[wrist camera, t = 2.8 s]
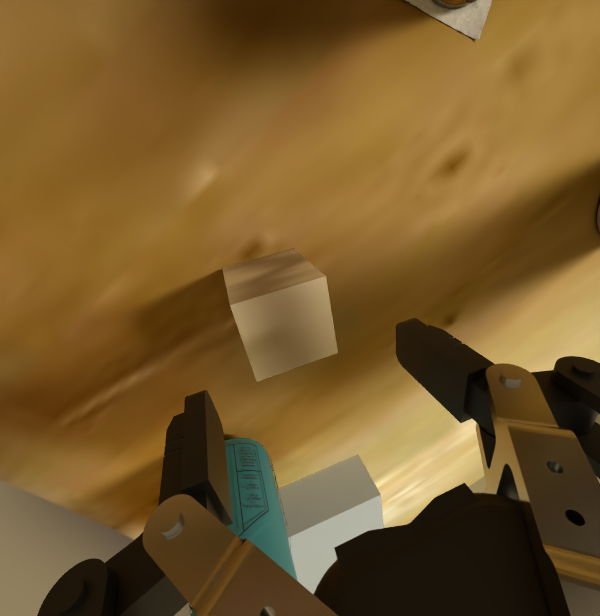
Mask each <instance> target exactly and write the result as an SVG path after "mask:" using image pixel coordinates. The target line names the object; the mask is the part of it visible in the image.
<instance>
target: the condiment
mask: <svg viewBox="0 0 600 616" xmlns="http://www.w3.org/2000/svg"><path fill="white" fill-rule="evenodd" d="M406 1H408V2H410V4H412V5H414V6H416V7H418V8H419V9H421V10H422V11H424V12H425V13H427V14H429V15H430V16H432V17H434V18H436V19H438V20H440V21H442V22H444V23H445V24H447V25H449V26H451V27H452V28H454V29H456V30H459V31H461V32H462V33H464V34H466V35H467V36H470V37H472V38H474V39H478V40H479V39H480V35H481V32H482V30H483V26H484V24H485V21H486V18H487V14H488V11H489V8H490V6H491V2H492V0H406Z"/></svg>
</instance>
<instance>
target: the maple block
mask: <svg viewBox="0 0 600 616" xmlns="http://www.w3.org/2000/svg"><path fill="white" fill-rule="evenodd" d="M222 270H223V275H224V279H225V284H226V289H227V294H228V298H229V303H230V307H231V310H232V313H233V315H234V318H235V321H236V324H237V327H238V330H239V333H240V335H241V338H242V341H243V344H244V347H245V350H246V353H247V355H248V358H249V361H250V364H251V367H252V370H253V373H254V375H255V378H256V381H257V382H258V381H261V380H264V379H267V378H269V377H272V376H275V375H278V374H281V373H283V372H286V371H289V370H292V369H295V368H297V367H300V366H303V365H306V364H309V363H311V362H314V361H317V360H320V359H322V358H325V357H328V356H331V355H334V354H336V353H338V349H337V343H336V337H335V330H334V324H333V318H332V311H331V305H330V299H329V292H328V286H327V280H326V276H325V275H324V274H323V273H322V272H321V271H319V270H318V269H317V268H316V267H315V266H314V265H313V264H311V263H310V262H309V261H308V260H307V259H306V258H304V257H303V256H302V255H301V254H300V253H299V252H298V251H296V250H295V249H294V248H293V249H289V250H286V251H282V252H279V253H275V254H272V255H268V256H265V257H261V258H257V259H254V260H250V261H247V262H243V263H240V264H236V265H233V266H229V267H226V268H222Z"/></svg>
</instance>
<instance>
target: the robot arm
mask: <svg viewBox="0 0 600 616" xmlns="http://www.w3.org/2000/svg"><path fill="white" fill-rule="evenodd" d="M597 224H598V229H599V231H600V205H599V209H598V216H597ZM396 355H397V358H398V361H399V362H400V364H401V365H402V366H403V368H405V369H406V370H407V371H408V372H409V373H410V374H411V375H412V376H413V377H414V378H415V379H416V380H417V381H418V382H419V383H420V384H421V385H422V386H423V387H424V388H425V389H426V390H427V391H428V392H429V393H430V394H431V395H432V396H433V397H434V398H435V399H436V400H437V401H439V402H440V403H441V404H442V405H443V406H444V407H445V408H446V409H447V410H448V411H449V412H450V413H451V414H452V415H453V416H454V417H455V418H456V419H457V420H458V421H459V422H460V423H462V422H465V421H467V420H469V419H471V418H472V419H473V420H475V421H476V422H477V424H476V432H477V437H478V442H479V448H480V453H481V458H482V463H483V468H484V474H485V493H473V492H472V491H471V490H470V489H469V487H468V486H467V485H466V484H465V483H463V484H461V485H459V486H457V487H455V488H453V489H451V490H449V491H447V492H445V493H443V494H441V495H439V496H437V497H435V498H434V499H433V500H432V501H431V502H430V503H429V504H428V505H427V506H426V507H425V508H424V510H423V511H422V512H421V513H420V514H419V515H418V516H417V517H416V518H415V519H414V520H413V521H412V522H411V523H409V524H407V525H402V526H395V527H389V528H382V529H375V530H369V531H367V532H365V533H363V534H361V535H359V536H357V537H355V538H353V539H351V540H349V541H347V542H344V543H342V544H340V545H338V546H336V547H334V549H335V553H336V557H337V560H336V561H335V562H334V563H333V564H332V565H331V566H330V567H329V569H328V570H327V571H326V573H325V574H324V575H323V577H322V579H321V580H320V582H319V584H318V585H317V588H316V590H315V592H314V594H312V593H311V592H310V591H309V590H307V589H306V588H305V587H304V586H303V585H302V584H300V583H299V582H298V581H297V580H296V579H295V578H293V577H292V576H291V575H290V574H289V573H287V572H286V571H285V570H284V569H283V568H282V567H280V566H279V565H278V564H277V563H276V562H275V561H273V560H272V559H271V558H270V557H269V556H267V555H266V554H265V553H264V552H263V551H262V550H260V549H259V548H258V547H257V546H256V545H254V544H253V543H252V542H250V541H249V540H247V539H243V540H242V539H240V538H239V537H238V536H237V535H235V534H234V533H233V532H232V531H231V530H230V529H228V528H227V527H226V526H229V525H231V524H233V518H232V508H231V499H230V489H229V480H228V471H227V461H226V452H225V442H224V433H223V428H222V424H221V421H220V418H219V416H218V413H217V411H216V409H215V407H214V405H213V402H212V400H211V398H210V396H209V393H208V392H207V390H204V391H201V392H198V393H196V394H193V395H190V396H187V397H186V398H185V409H184V413H182V414H179V415H176V416H174V417H173V419H172V421H171V423H170V425H169V427H168V429H167V433H166V446H165V452H164V455H165V457H164V461H163V470H162V480H161V489H160V498H159V505H158V507H157V508H156V509H155V510H154V512H153V513H152V514H151V516H150V517H149V519H148V521H147V523H146V525H145V528H144V531H143V533H142V534H141V535H140V536H139V537H138V538H136V539H135V540H134V541H133V542H132V543H130V544H129V545H128V546H127V547H125V548H124V549H122V550H121V551H120V552H119V553H117V554H116V555H115V556H113V557H112V558H111V559H109V560H108V561H107V562H105V563H104V562H103V561H101V560H100V559H88V560H85V561H82V562H80V563H79V564H77V565H75V566H74V567H73V568H71V569H70V570H68V571H67V572H66V573H65V574H64V575H63V576H62V577H61V578H60V579H59V580H58V582H56V584H55V585H54V586H53V587H52V589H51V590H50V591H49V593H48V594H47V596H46V598H45V600H44V601H43V604H42V605H41V608H40V610H39V613H38V615H37V616H174V615H175V614H176V613H177V612H178V611H179V610H181V608H183V607H184V606H185V605H186V604H187V603H189V604H190V605H191V606H192V608H193V609H194V610H195V612H196V614H197V615H198V616H600V483H599V481H598V479H597V477H598V478H599V479H600V425H599V424H598V423H596V422H595V420H596V418H597V416H598V414H600V363H598V362H596V361H593V360H590V359H587V358H583V357H575V356H568V357H562V358H560V359H558V360H557V361H556V364H555V367H554V370H551V371H541V372H532V373H530V372H529V371H527V370H525V369H523V368H521V367H519V366H515V365H511V364H494V363H492V362H491V361H489V360H488V359H486V358H485V357H483V356H482V355H480V354H479V353H477V352H476V351H474V350H473V349H471V348H470V347H468V346H467V345H465V344H462V342H461V341H459V340H458V339H456V338H453V336H452V335H450V334H449V333H447V332H446V331H444V330H442V329H439V328H436V327H433V326H430V325H429V326H426V325H425V324H424V323H422V322H421V321H419V320H418V319H416V318H413V319H410V320H407V321H404V322H401V323H398V324H397V325H396ZM596 476H597V477H596Z"/></svg>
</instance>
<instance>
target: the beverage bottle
mask: <svg viewBox="0 0 600 616" xmlns="http://www.w3.org/2000/svg"><path fill="white" fill-rule="evenodd" d="M224 442H225V452H226V461H227V471H228V480H229V489H230V499H231V508H232V518H233V524H231V525H229V526H226V527H227V528H228V529H230V530H231V531H232V532H233V533H234V534H235V535H237V536H238V537H239V538H240V539H242V540H243V539H247V540H249V541H250V542H252V543H253V544H254V545H256V546H257V547H258V548H259V549H260V550H262V551H263V552H264V553H265V554H266V555H267V556H269V557H270V558H271V559H272V560H273V561H275V562H276V563H277V564H278V565H279V566H280V567H282V568H283V569H284V570H285V571H286V572H287V573H289V574H290V575H291V576H292V577H293V578H295V579H296V580H297V576H296V571H295V567H294V563H293V559H292V555H291V542H290V547H289V540H288V535H287V531H286V526H285V522H284V518H283V514H284V516H285V513H283V514H282V510H281V506H280V502H281V497H280V501H279V497H278V493H277V489H276V485H275V484H277V481H276V480H275V481H276V482H275V481H274V477H273V472H272V471H274V470H273V469H274V468H271V467H272V465H273V464H272V465H271V464H270V460H269V456H268V453H267V452H266V450H265V449H264V447H263V446H262V445H261V444H260V443H258V442H257V441H254V440H251V439H246V438H235V439H229V440H225V441H224ZM270 458H271V457H270ZM271 461H272V460H271ZM274 475H275V474H274ZM275 477H276V476H275ZM275 479H276V478H275ZM277 487H278V485H277ZM278 491H279V490H278ZM281 504H282V503H281ZM282 508H283V507H282ZM283 512H284V509H283ZM285 520H286V519H285ZM286 523H287V522H286ZM287 526H288V525H287ZM297 581H298V580H297ZM189 607H190V608H191V610H192V614H191V615H192V616H198V615H197V614H196V612H195V610H194V609H193V608H192V607H191V606H190V605H189Z"/></svg>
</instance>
